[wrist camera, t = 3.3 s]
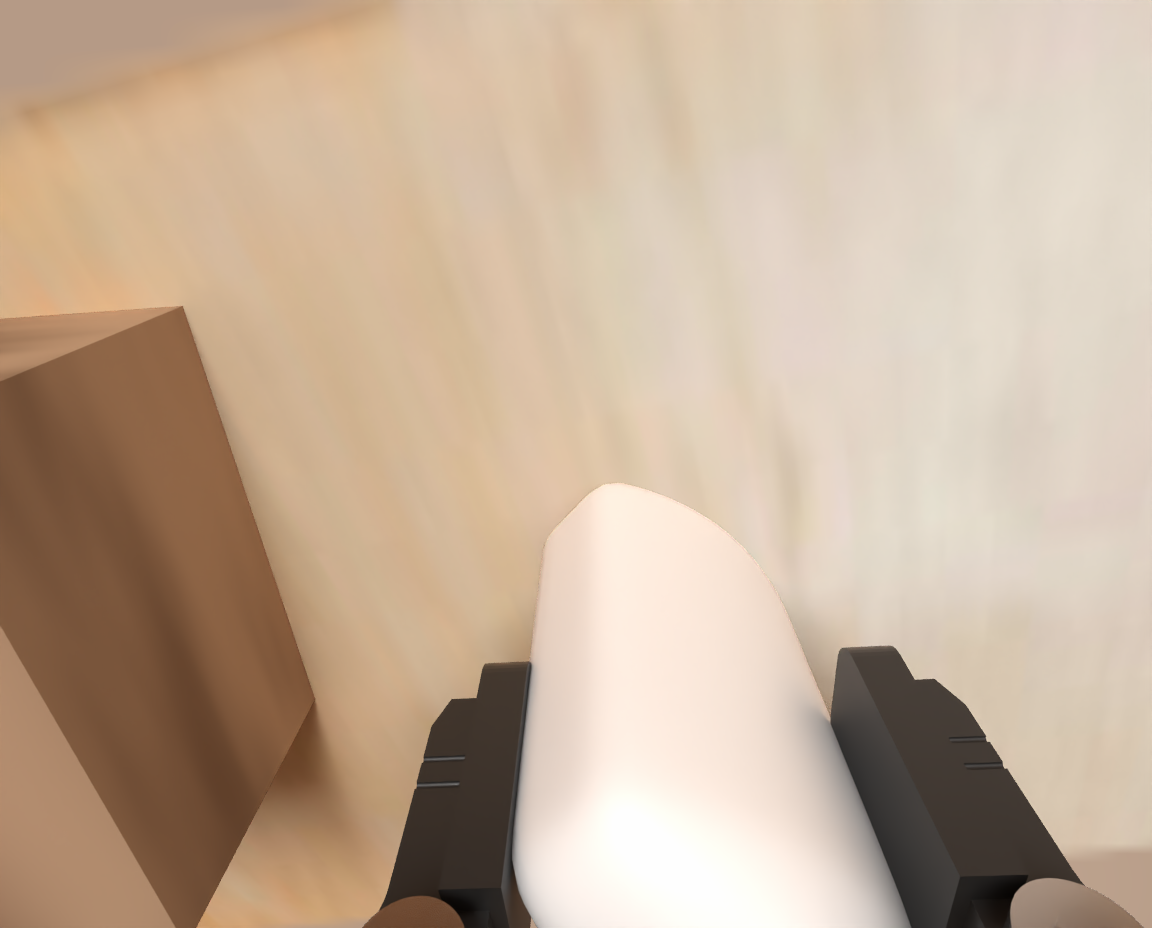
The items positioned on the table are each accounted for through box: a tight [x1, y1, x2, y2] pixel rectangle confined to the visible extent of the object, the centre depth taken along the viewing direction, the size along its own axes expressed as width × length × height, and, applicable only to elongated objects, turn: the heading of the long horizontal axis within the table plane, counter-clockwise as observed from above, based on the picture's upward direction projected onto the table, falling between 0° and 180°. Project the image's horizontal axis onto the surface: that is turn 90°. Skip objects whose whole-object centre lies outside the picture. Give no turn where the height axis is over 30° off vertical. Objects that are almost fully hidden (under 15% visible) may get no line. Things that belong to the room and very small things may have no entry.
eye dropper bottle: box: [512, 483, 911, 928], centre depth 9 cm, size 4×6×12 cm
